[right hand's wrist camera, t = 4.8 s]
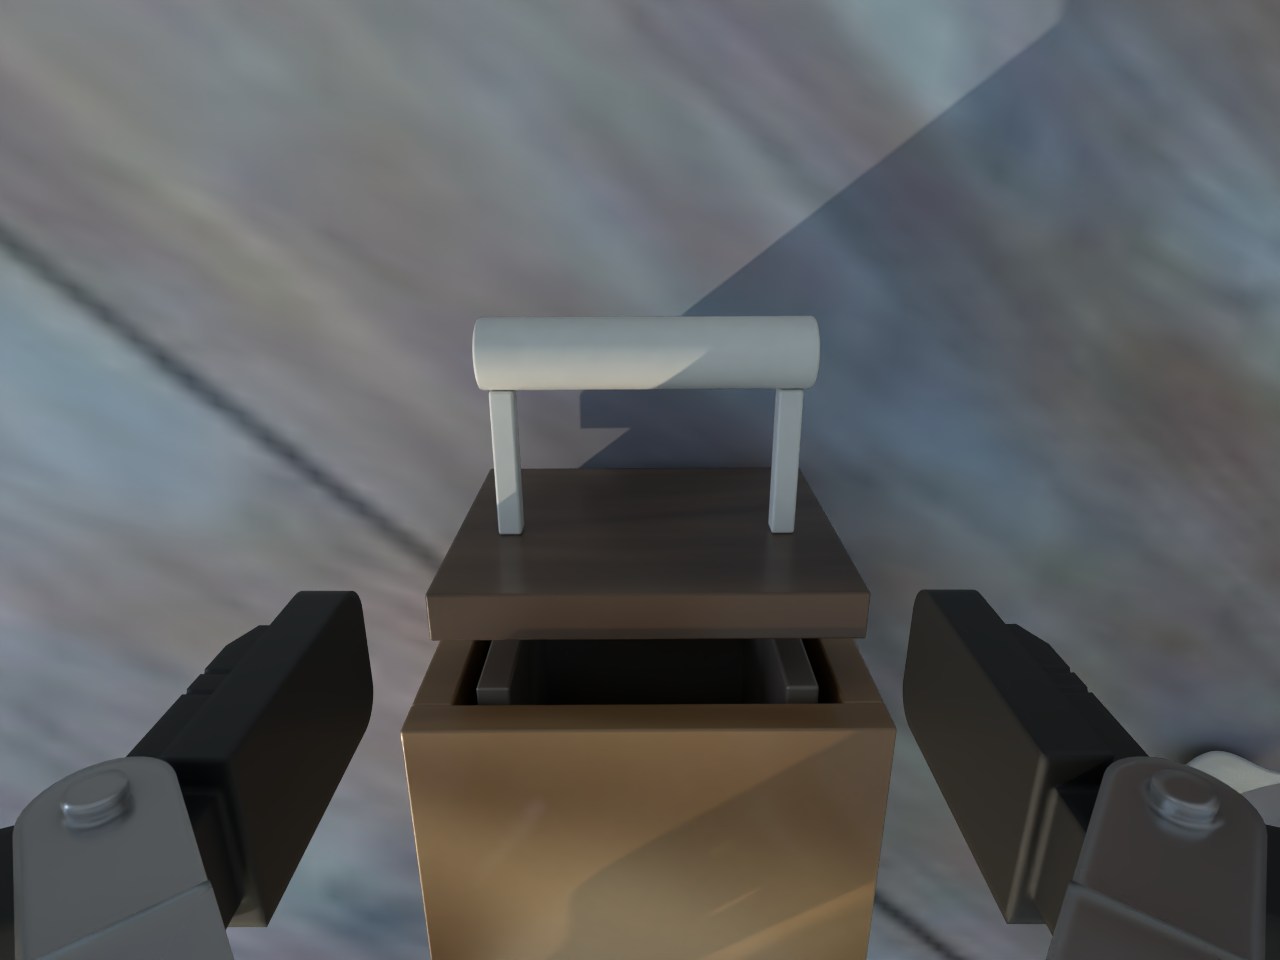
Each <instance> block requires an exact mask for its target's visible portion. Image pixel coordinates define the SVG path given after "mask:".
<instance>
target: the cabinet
mask: <svg viewBox="0 0 1280 960" xmlns="http://www.w3.org/2000/svg"><path fill="white" fill-rule="evenodd" d="M801 639H802V642H803V645H804V648H805V651H806V653H807V656H808V659H809V662H810V664H811V667H812V670H813V673H814V676H815V678H816V681H817V684H818V687H819V692H818V704H642V705H478V701H477V690H476V689H477V686H478V683H479V680H480V676H481V673H482V670H483V667H484V664H485V661H486V658H487V655H488V652H489V648H490V645H491V642H492V640H440V642H439V645H438V647H437V649H436V652H435V654H434V656H433V658H432V661H431V663H430V665H429V668H428V670H427V672H426V675H425V677H424V679H423V682H422V684H421V686H420V688H419V691H418V693H417V695H416V698H415V700H414V702H413V705H412V707H411V709H410V711H409V713H408V716H407V718H406V720H405V722H404V725H403V727H402V729H401V732H400V733H401V740H402V748H403V755H404V762H405V770H406V777H407V785H408V792H409V799H410V807H411V814H412V822H413V829H414V837H415V844H416V851H417V859H418V866H419V874H420V881H421V889H422V896H423V903H424V911H425V918H426V926H427V933H428V940H429V948H430V955H431V960H866V957H867V950H868V942H869V934H870V927H871V919H872V912H873V904H874V897H875V889H876V881H877V874H878V866H879V859H880V851H881V844H882V836H883V829H884V821H885V813H886V806H887V798H888V791H889V783H890V776H891V768H892V760H893V753H894V745H895V738H896V730H897V729H896V727H895V725H894V722H893V720H892V718H891V716H890V714H889V712H888V710H887V708H886V706H885V704H884V702H883V700H882V698H881V696H880V694H879V692H878V689H877V687H876V685H875V683H874V681H873V679H872V677H871V675H870V673H869V670H868V668H867V666H866V664H865V662H864V660H863V658H862V656H861V654H860V652H859V649H858V647H857V645H856V643H855V641H854V639H853V638H801Z"/></svg>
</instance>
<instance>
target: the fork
mask: <svg viewBox="0 0 1280 960" xmlns="http://www.w3.org/2000/svg"><path fill="white" fill-rule="evenodd" d="M1185 765H1188V766H1191V767H1193V768H1196V769H1198V770H1201V771H1203V772H1205V773H1207V774H1209V775H1211V776H1213V777H1215V778H1217V779H1219V780H1220V781H1222V782H1224V783H1225V784H1227V785H1229V786H1230V787H1231V788H1233V789H1234V790H1236V791H1237V792H1238V793H1243V792H1246V791H1249V790H1253V789H1256V788H1260V787H1264V786H1268V785H1272V784H1277V783H1280V771H1272V770H1269V769H1266V768H1263V767H1261V766H1259V765H1256V764H1254V763H1252V762H1250V761H1248V760H1246V759H1244V758H1242V757H1240V756H1237V755H1235V754H1232V753H1228V752H1224V751H1210V752H1206V753H1204V754H1201V755H1199V756H1197V757H1196V758H1194V759H1193V760H1191V761H1190V762H1188V763H1187V764H1185Z"/></svg>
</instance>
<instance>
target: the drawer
mask: <svg viewBox="0 0 1280 960" xmlns="http://www.w3.org/2000/svg"><path fill="white" fill-rule="evenodd" d="M472 350H473V366H474V373H475V378H476V381H477V384H478V386H479V388H480V389H482V390H491V391H490V392H489V405H490V418H491V432H492V445H493V459H494V469H491V470H490V472H489V474H488V476H487V478H486V479H485V481H484V483H483V485H482V487H481V489H480V491H479V493H478V495H477V497H476V499H475V501H474V503H473V505H472V506H471V508H470V510H469V512H468V514H467V516H466V518H465V520H464V522H463V524H462V526H461V528H460V530H459V531H458V533H457V535H456V537H455V539H454V541H453V543H452V545H451V547H450V549H449V551H448V553H447V555H446V557H445V558H444V560H443V562H442V564H441V566H440V568H439V570H438V572H437V574H436V576H435V578H434V580H433V582H432V584H431V585H430V587H429V589H428V591H427V593H426V595H425V598H426V607H427V616H428V625H429V634H430V639H431V640H492V642H491V645H490V648H489V652H488V655H487V658H486V661H485V664H484V667H483V670H482V673H481V676H480V680H479V683H478V686H477V689H476V690H477V701H478V705H642V704H818V692H819V687H818V684H817V681H816V678H815V676H814V673H813V670H812V667H811V664H810V662H809V659H808V656H807V653H806V651H805V648H804V645H803V642H802V639H801V638H865V637H866V630H867V620H868V611H869V602H870V591H869V590H868V588H867V586H866V584H865V583H864V581H863V579H862V577H861V576H860V574H859V572H858V570H857V569H856V567H855V565H854V563H853V562H852V560H851V558H850V556H849V555H848V553H847V551H846V549H845V548H844V546H843V544H842V542H841V541H840V539H839V537H838V535H837V534H836V532H835V530H834V528H833V527H832V525H831V523H830V521H829V519H828V518H827V516H826V514H825V512H824V511H823V509H822V507H821V505H820V504H819V502H818V500H817V498H816V497H815V495H814V493H813V491H812V490H811V488H810V486H809V484H808V483H807V481H806V479H805V477H804V476H803V474H802V472H801V470H800V469H799V468H798V466H799V452H800V437H801V423H802V409H803V394H804V392H803V390H802V389H801V388H811V387H813V385H814V383H815V381H816V378H817V374H818V369H819V361H820V335H819V328H818V324H817V321H816V319H815V318H814V317H812V316H675V317H481V318H479V319H477V321H476V323H475V326H474V331H473V345H472ZM595 389H776V398H775V416H774V433H773V451H772V468H599V469H521V464H520V448H519V432H518V415H517V399H516V390H595Z"/></svg>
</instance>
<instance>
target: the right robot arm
mask: <svg viewBox="0 0 1280 960" xmlns="http://www.w3.org/2000/svg"><path fill="white" fill-rule="evenodd" d="M903 703H904V710H905V715H906V719H907V722H908V725H909V727H910V730H911V732H912V734H913V736H914V738H915V740H916V742H917V744H918V746H919V748H920V750H921V752H922V754H923V756H924V758H925V760H926V762H927V764H928V766H929V768H930V770H931V772H932V774H933V776H934V778H935V780H936V782H937V784H938V786H939V788H940V790H941V792H942V794H943V796H944V798H945V800H946V802H947V804H948V806H949V808H950V810H951V812H952V814H953V816H954V818H955V820H956V822H957V824H958V826H959V828H960V830H961V832H962V834H963V836H964V838H965V840H966V842H967V844H968V846H969V848H970V850H971V852H972V854H973V856H974V858H975V860H976V862H977V864H978V866H979V868H980V870H981V872H982V874H983V876H984V878H985V880H986V882H987V884H988V887H989V889H990V891H991V893H992V895H993V897H994V899H995V901H996V903H997V905H998V907H999V909H1000V911H1001V913H1002V915H1003V917H1004V919H1005V921H1006V923H1007V924H1046V925H1047V926H1048V928H1049V930H1050V932H1051V934H1052V935H1053V937H1052V941H1051V944H1050V947H1049V951H1048V954H1047V957H1046V960H1280V828H1279V827H1274V826H1270V825H1265V823H1264V821H1263V819H1262V817H1261V816H1260V814H1259V813H1258V811H1257V810H1256V809H1255V808H1254V807H1253V806H1252V804H1251V803H1250V802H1249V801H1248V800H1247V799H1245V798H1244V797H1243V796H1242V795H1241V794H1240V793H1238V792H1237V791H1236V790H1234V789H1233V788H1231V787H1230V786H1229V785H1227V784H1225V783H1224V782H1222V781H1220V780H1219V779H1217V778H1215V777H1213V776H1211V775H1209V774H1207V773H1205V772H1203V771H1201V770H1198V769H1196V768H1193V767H1191V766H1188V765H1185V764H1182V763H1179V762H1175V761H1171V760H1167V759H1162V758H1155V757H1149V756H1148V755H1147V754H1146V753H1145V752H1144V750H1143V749H1142V748H1141V747H1140V746H1139V745H1138V744H1137V743H1136V741H1135V740H1134V739H1133V738H1132V737H1131V736H1130V735H1129V734H1128V732H1127V731H1126V730H1125V729H1124V728H1123V727H1122V726H1121V725H1120V723H1119V722H1118V721H1117V720H1116V719H1115V718H1114V717H1113V716H1112V714H1111V713H1110V712H1109V711H1108V710H1107V709H1106V708H1105V707H1104V706H1103V704H1102V703H1101V702H1100V701H1099V700H1098V699H1097V698H1096V697H1095V695H1094V694H1093V693H1088V691H1087V686H1086V685H1085V684H1084V683H1083V682H1082V681H1081V680H1080V679H1079V677H1078V676H1077V675H1076V674H1075V673H1070V667H1069V666H1068V665H1067V664H1066V663H1065V662H1064V661H1063V660H1062V658H1061V657H1060V656H1059V655H1058V654H1057V653H1056V652H1055V651H1054V649H1053V648H1052V647H1051V646H1050V645H1049V644H1048V643H1046V642H1044V641H1043V640H1041V639H1040V638H1038V637H1036V636H1035V635H1033V634H1031V633H1030V632H1028V631H1027V630H1025V629H1023V628H1022V627H1020V626H1018V625H1017V624H1005V623H1004V622H1003V621H1002V619H1001V618H1000V617H999V616H998V615H997V613H996V612H995V611H994V610H993V609H992V607H991V606H990V605H989V604H988V603H987V601H986V600H985V599H984V598H983V597H982V595H981V594H980V593H979V592H978V591H976V590H921V591H920V592H919V593H918V594H917V596H916V599H915V602H914V608H913V615H912V622H911V629H910V636H909V644H908V651H907V658H906V665H905V673H904V680H903ZM372 704H373V681H372V674H371V667H370V660H369V653H368V646H367V639H366V631H365V624H364V617H363V610H362V604H361V601H360V598H359V596H358V594H357V593H356V592H354V591H300V592H298V593H297V594H296V595H295V596H294V597H293V598H292V599H291V601H290V602H289V603H288V604H287V605H286V607H285V608H284V609H283V610H282V611H281V613H280V614H279V615H278V616H277V617H276V618H275V620H274V621H273V622H272V623H271V624H270V625H259V626H257V627H256V628H254V629H253V630H251V631H249V632H248V633H246V634H244V635H243V636H241V637H239V638H238V639H236V640H235V641H233V642H231V643H230V644H228V645H226V646H225V647H224V649H223V650H222V651H221V652H220V653H219V654H218V655H217V656H216V657H215V659H214V660H213V661H212V662H211V663H210V664H209V665H208V666H207V667H206V669H205V673H204V674H200V675H199V676H198V677H197V679H196V680H195V681H194V682H193V683H192V684H191V685H190V686H189V688H188V689H187V694H186V695H181V696H180V698H179V699H178V700H177V701H176V702H175V703H174V704H173V705H172V706H171V708H170V709H169V710H168V711H167V712H166V713H165V714H164V715H163V716H162V718H161V719H160V720H159V721H158V722H157V723H156V724H155V725H154V726H153V728H152V729H151V730H150V731H149V732H148V733H147V734H146V735H145V736H144V738H143V739H142V740H141V741H140V742H139V743H138V744H137V745H136V746H135V748H134V749H133V750H132V751H131V752H130V753H129V754H128V755H127V756H126V757H125V758H118V759H113V760H109V761H105V762H101V763H98V764H95V765H92V766H89V767H87V768H84V769H82V770H79V771H77V772H75V773H73V774H71V775H69V776H67V777H65V778H63V779H61V780H60V781H58V782H56V783H55V784H53V785H51V786H50V787H49V788H47V789H46V790H44V791H43V792H42V793H40V794H39V795H38V796H37V797H36V798H35V799H33V800H32V801H31V802H30V803H29V804H28V806H27V807H26V808H25V809H24V810H23V811H22V813H21V814H20V816H19V817H18V819H17V821H16V823H15V825H14V826H10V827H6V828H2V829H0V960H234V957H233V954H232V951H231V947H230V944H229V941H228V937H227V934H226V931H225V930H226V929H227V927H267V926H268V924H269V922H270V920H271V918H272V916H273V914H274V912H275V910H276V908H277V906H278V904H279V902H280V900H281V898H282V896H283V894H284V892H285V890H286V888H287V886H288V884H289V882H290V880H291V878H292V876H293V874H294V872H295V870H296V868H297V866H298V864H299V862H300V860H301V858H302V856H303V854H304V852H305V850H306V848H307V846H308V844H309V842H310V840H311V838H312V836H313V834H314V832H315V830H316V828H317V826H318V824H319V822H320V820H321V818H322V816H323V814H324V812H325V810H326V808H327V806H328V804H329V802H330V801H331V799H332V797H333V795H334V793H335V791H336V789H337V787H338V785H339V783H340V781H341V779H342V777H343V775H344V773H345V771H346V769H347V767H348V765H349V763H350V761H351V759H352V757H353V755H354V753H355V751H356V749H357V747H358V745H359V743H360V741H361V739H362V737H363V735H364V733H365V731H366V729H367V726H368V723H369V720H370V716H371V711H372Z"/></svg>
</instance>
